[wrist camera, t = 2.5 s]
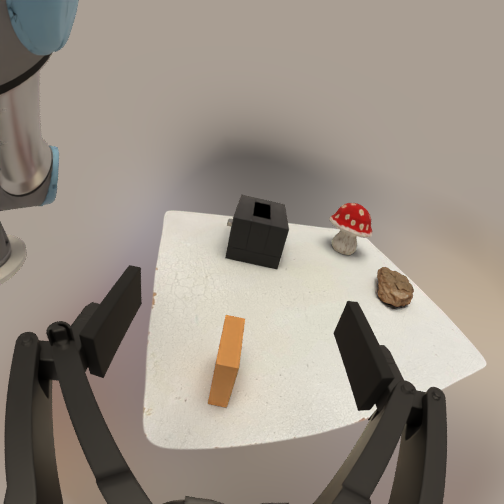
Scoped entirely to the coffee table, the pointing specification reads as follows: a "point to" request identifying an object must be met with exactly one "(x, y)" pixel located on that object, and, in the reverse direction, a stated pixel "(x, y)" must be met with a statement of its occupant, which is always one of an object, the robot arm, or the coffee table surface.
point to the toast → (227, 361)
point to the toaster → (257, 232)
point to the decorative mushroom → (350, 227)
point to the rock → (394, 288)
